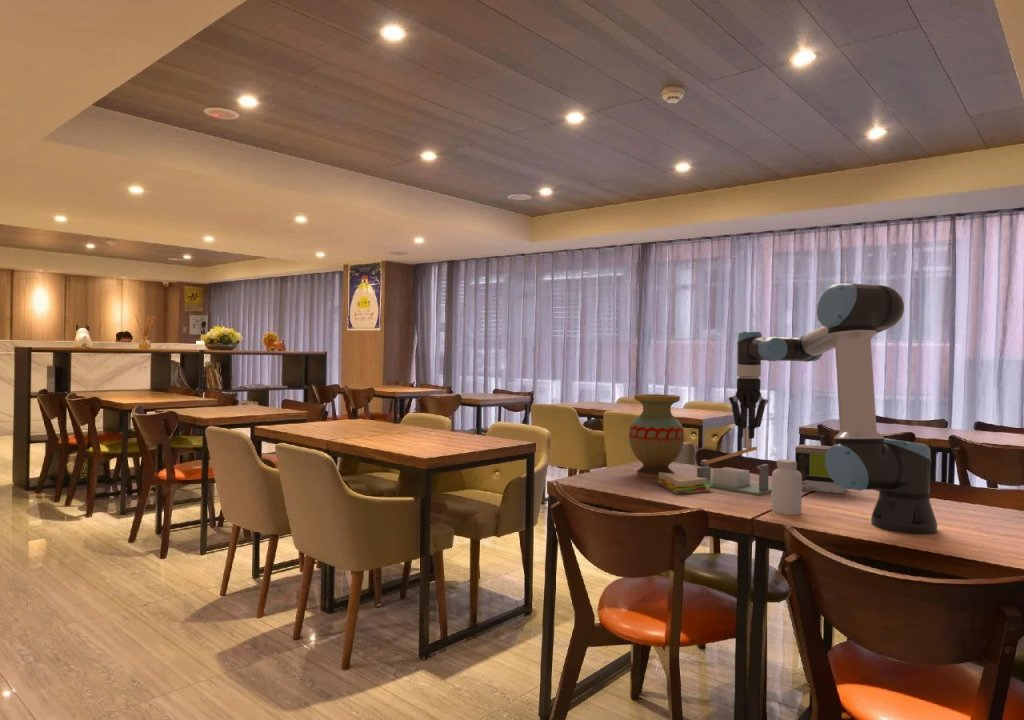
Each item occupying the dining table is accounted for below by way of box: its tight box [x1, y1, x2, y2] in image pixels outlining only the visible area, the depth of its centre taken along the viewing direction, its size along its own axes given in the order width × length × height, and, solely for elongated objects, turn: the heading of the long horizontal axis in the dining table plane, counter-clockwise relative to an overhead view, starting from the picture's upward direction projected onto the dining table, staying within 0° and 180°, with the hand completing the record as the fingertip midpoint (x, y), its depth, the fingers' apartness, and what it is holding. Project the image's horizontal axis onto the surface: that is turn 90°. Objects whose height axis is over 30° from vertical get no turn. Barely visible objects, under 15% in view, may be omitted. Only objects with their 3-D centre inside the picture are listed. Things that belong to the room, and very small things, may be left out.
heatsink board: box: [696, 463, 772, 497], centre depth 234 cm, size 28×16×9 cm, turn 44°
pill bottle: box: [771, 459, 803, 516], centre depth 196 cm, size 8×8×15 cm
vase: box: [628, 393, 685, 479], centre depth 252 cm, size 20×20×30 cm
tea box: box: [794, 444, 847, 494], centre depth 232 cm, size 15×10×15 cm, turn 58°
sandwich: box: [657, 472, 711, 495], centre depth 228 cm, size 15×20×5 cm
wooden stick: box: [698, 446, 758, 467], centre depth 234 cm, size 21×4×2 cm, turn 44°
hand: (747, 447), depth 229 cm, fingers closed
